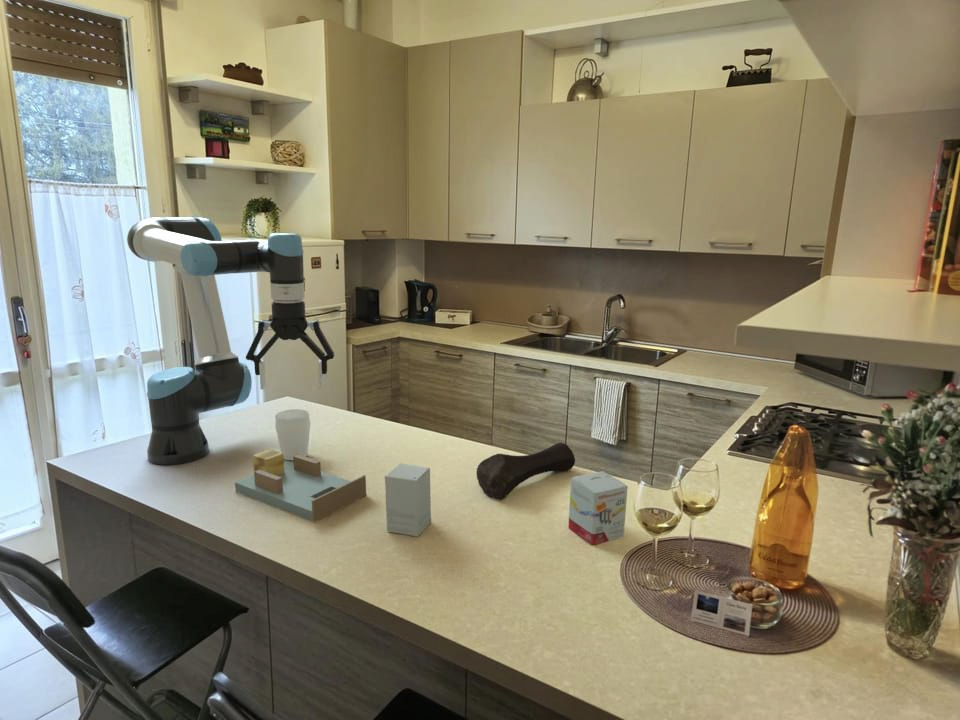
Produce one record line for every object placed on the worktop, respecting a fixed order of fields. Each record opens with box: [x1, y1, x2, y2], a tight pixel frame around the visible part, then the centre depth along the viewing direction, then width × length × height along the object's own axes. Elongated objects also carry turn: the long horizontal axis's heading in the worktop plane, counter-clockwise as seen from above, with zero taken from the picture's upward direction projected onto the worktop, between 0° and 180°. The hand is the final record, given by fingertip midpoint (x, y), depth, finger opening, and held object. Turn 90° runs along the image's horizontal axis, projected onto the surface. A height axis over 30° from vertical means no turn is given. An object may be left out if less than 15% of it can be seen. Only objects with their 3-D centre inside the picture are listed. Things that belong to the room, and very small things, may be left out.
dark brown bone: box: [475, 442, 576, 501], centre depth 156 cm, size 11×10×28 cm
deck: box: [234, 455, 367, 523], centre depth 148 cm, size 27×16×6 cm, turn 57°
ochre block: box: [252, 448, 285, 476], centre depth 153 cm, size 5×5×5 cm
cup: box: [274, 409, 311, 462], centre depth 170 cm, size 9×9×12 cm
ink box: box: [567, 470, 629, 547], centre depth 130 cm, size 9×9×12 cm
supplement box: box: [384, 463, 432, 538], centre depth 132 cm, size 7×7×13 cm
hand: (292, 387), depth 153 cm, fingers open, 13 cm apart
